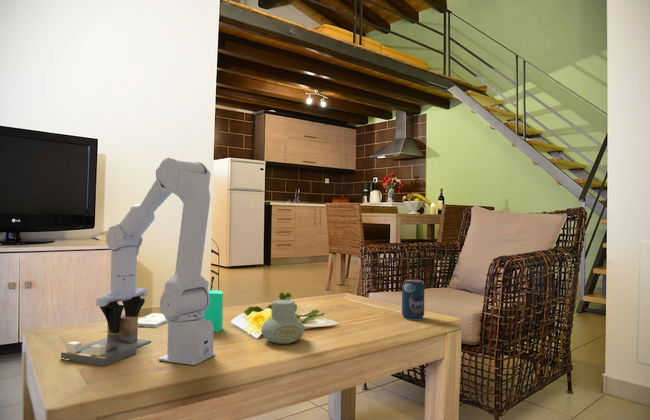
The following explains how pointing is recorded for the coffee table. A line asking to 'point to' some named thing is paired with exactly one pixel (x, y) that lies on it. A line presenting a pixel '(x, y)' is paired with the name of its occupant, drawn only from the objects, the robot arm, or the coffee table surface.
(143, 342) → the tool pad
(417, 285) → the soda can
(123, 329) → the bar
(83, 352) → the switch board
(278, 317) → the air freshener
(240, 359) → the coffee table surface
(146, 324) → the external hard drive
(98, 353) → the tab
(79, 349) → the tab
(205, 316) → the candle
